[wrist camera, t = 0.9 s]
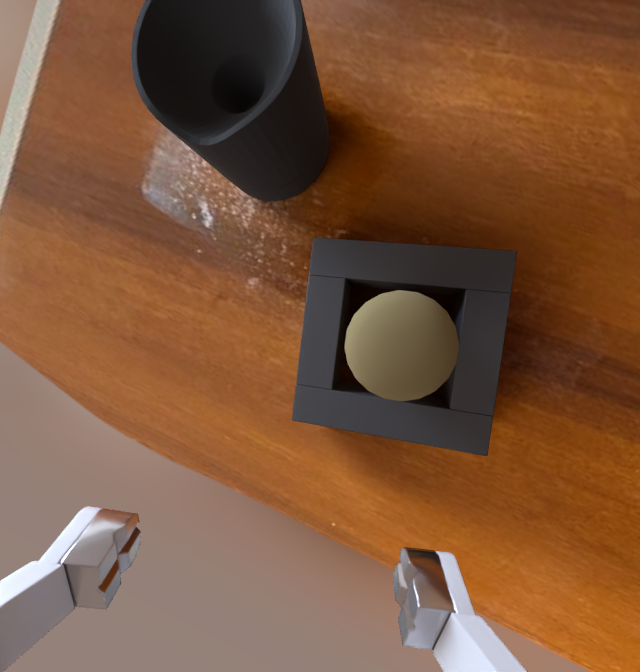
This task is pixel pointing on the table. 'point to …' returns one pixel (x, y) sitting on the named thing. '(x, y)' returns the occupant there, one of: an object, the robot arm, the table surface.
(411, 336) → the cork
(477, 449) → the holder stand
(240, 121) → the pen holder
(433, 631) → the robot arm
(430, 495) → the table surface
